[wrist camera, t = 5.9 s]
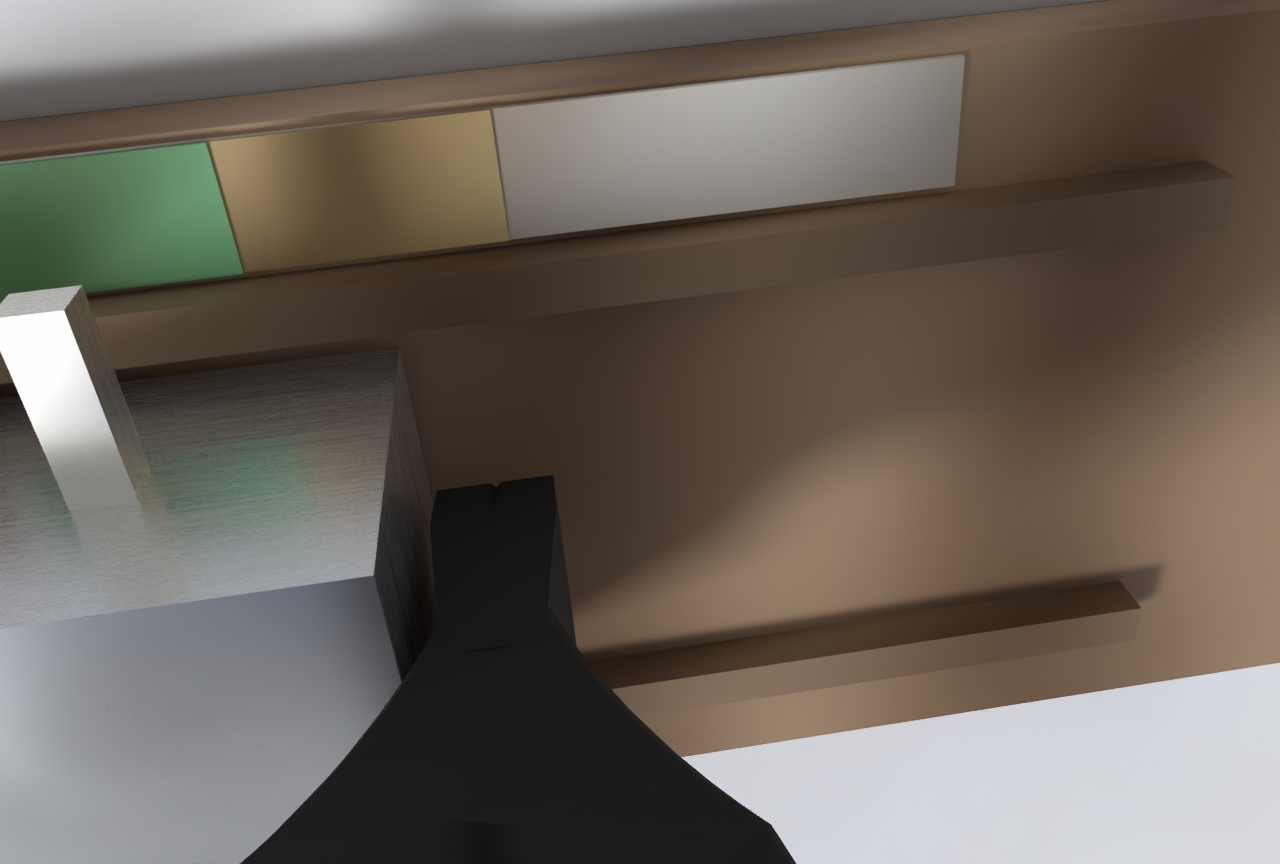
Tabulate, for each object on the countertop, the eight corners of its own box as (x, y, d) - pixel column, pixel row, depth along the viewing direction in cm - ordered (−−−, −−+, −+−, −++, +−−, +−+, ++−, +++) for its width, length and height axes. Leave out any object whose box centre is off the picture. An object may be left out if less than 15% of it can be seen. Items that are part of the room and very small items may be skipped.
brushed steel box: (363, 178, 11) (318, 364, 8) (470, 677, 15) (472, 951, 11) (-393, 267, 11) (-800, 507, 7) (-88, 761, 14) (-262, 1075, 11)
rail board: (1494, -42, 13) (2186, 94, 8) (1293, 603, 18) (1624, 942, 13) (-486, 173, 11) (-1294, 530, 6) (-79, 814, 17) (-328, 1298, 11)
